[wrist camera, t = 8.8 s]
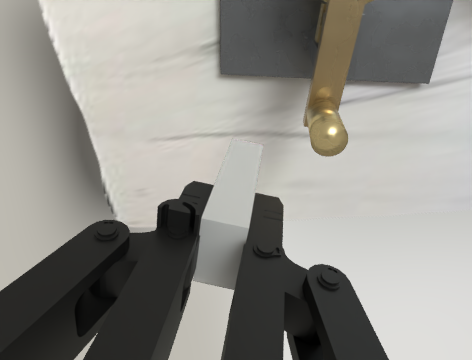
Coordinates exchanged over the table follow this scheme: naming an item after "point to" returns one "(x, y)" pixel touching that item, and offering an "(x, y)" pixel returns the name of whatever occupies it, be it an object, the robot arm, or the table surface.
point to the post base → (305, 47)
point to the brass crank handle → (331, 74)
